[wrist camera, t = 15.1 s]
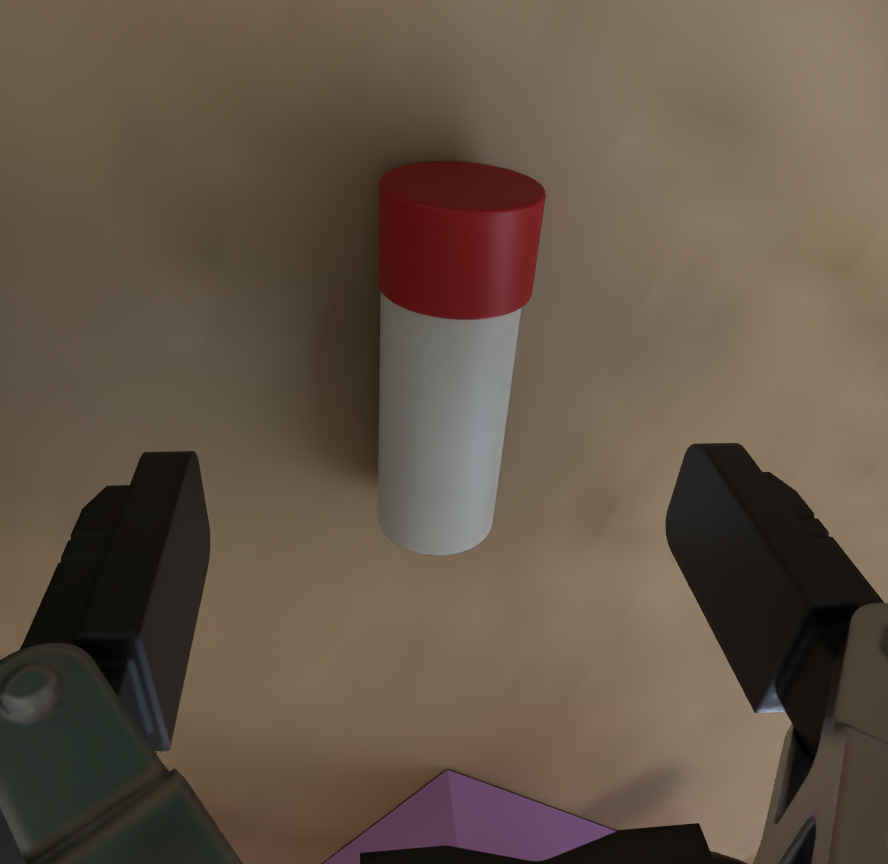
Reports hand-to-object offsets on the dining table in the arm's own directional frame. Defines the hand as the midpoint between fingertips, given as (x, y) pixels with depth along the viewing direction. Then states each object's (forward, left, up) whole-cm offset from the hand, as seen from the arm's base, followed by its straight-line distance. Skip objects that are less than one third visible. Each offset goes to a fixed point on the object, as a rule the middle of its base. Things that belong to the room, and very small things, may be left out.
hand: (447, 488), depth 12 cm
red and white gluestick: (0, 0, -5) cm, 5 cm away
